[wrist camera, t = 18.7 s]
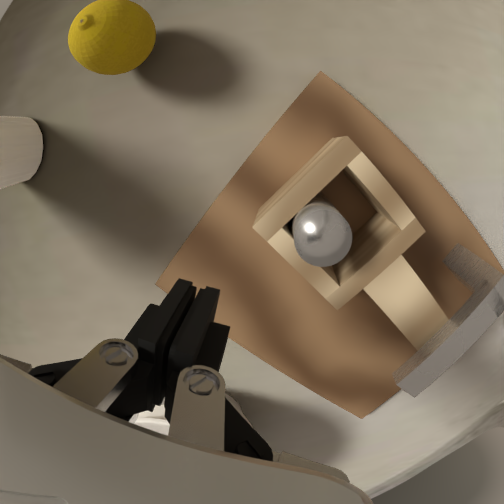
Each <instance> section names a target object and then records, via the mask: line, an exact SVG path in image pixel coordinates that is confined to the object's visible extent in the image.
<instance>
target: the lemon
mask: <svg viewBox="0 0 504 504" xmlns="http://www.w3.org/2000/svg"><path fill="white" fill-rule="evenodd" d="M155 39H156V30H155V25H154V22H153V20H152V19H151V17H150V15H149V14H148V12H147V11H145V10H144V9H143V8H142V7H141V6H140V5H138V4H136V3H134V2H131V1H129V0H97V1H95V2H93V3H91V4H89V5H88V6H87V7H85V8H84V9H83V10H82V11H81V12H80V13H79V14H78V15H77V16H76V18H75V19H74V21H73V23H72V25H71V27H70V30H69V34H68V44H69V48H70V51H71V53H72V55H73V56H74V58H75V59H76V60H77V61H78V62H79V63H80V64H81V65H83V66H84V67H85V68H87V69H88V70H91V71H93V72H96V73H99V74H105V75H117V74H121V73H126V72H128V71H130V70H132V69H135V68H136V67H137V66H139V65H140V64H142V63H143V62H144V61H145V59H146V58H147V57H148V56H149V54H150V53H151V51H152V49H153V46H154V44H155Z"/></svg>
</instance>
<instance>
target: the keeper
mask: <svg viewBox="0 0 504 504" xmlns="http://www.w3.org/2000/svg"><path fill="white" fill-rule="evenodd" d="M442 262H443V263H444V264H445V265H446V266H447V267H448V269H449V270H450V271H451V272H452V273H453V275H454V276H455V277H456V278H457V279H458V280H459V281H460V282H461V283H462V284H463V285H465V286H466V287H467V288H468V289H469V290H470V291H471V292H472V293H473V294H472V295H471V296H470V298H469V299H468V300H467V301H466V302H465V303H464V304H463V305H462V307H461V308H460V309H459V310H458V311H457V312H456V313H455V314H454V315H453V316H452V317H451V318H450V319H449V320H448V321H447V323H446V324H445V325H444V326H443V327H442V328H441V329H440V330H439V331H438V332H437V333H436V334H435V335H434V336H433V337H432V338H431V339H430V340H429V341H427V342H426V343H425V344H424V345H423V346H422V347H421V348H420V349H419V350H418V351H417V352H416V353H415V354H414V355H413V356H411V357H410V358H409V359H408V360H407V361H406V362H405V363H404V364H402V365H401V366H400V367H399V368H398V369H397V370H396V371H394V372H393V373H392V375H393V378H394V380H395V383H396V385H397V386H399V387H400V388H401V389H403V390H404V391H406V392H407V393H409V394H410V395H412V396H413V397H414V398H415V397H416V396H417V395H418V394H420V393H421V392H422V391H423V390H424V389H426V388H427V387H428V386H429V385H430V384H431V383H433V382H434V381H435V380H436V379H437V378H438V377H439V376H441V375H442V374H443V373H444V372H445V371H446V370H447V369H448V368H449V367H450V366H452V365H453V364H454V363H455V362H456V361H457V360H458V359H459V358H460V357H461V356H462V355H463V354H464V353H465V352H466V351H467V350H468V349H469V348H470V347H471V346H472V345H473V344H474V343H475V342H476V341H477V340H478V339H479V338H480V337H481V336H482V335H483V333H484V332H485V331H486V330H487V329H488V328H489V327H490V326H491V325H492V324H493V322H494V321H495V320H496V319H497V318H498V317H499V316H500V314H501V313H502V312H503V311H504V274H502V273H501V272H499V271H498V270H497V269H495V268H494V267H493V266H491V265H490V264H488V263H487V262H485V261H484V260H483V259H481V258H480V257H478V256H477V255H475V254H474V253H472V252H471V251H469V250H468V249H467V248H465V247H464V246H462V245H460V244H459V243H457V244H456V245H455V247H454V248H453V249H452V250H451V251H450V253H449V254H448V255H447V256H446V257H445V259H444V260H443V261H442Z"/></svg>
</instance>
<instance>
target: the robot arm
mask: <svg viewBox="0 0 504 504" xmlns="http://www.w3.org/2000/svg"><path fill="white" fill-rule="evenodd" d="M196 290H197V287H195V286H193V282H191V281H187V280H184V279H180V278H179V279H178V280H177V281H176V283H175V284H174V286H173V287H172V289H171V290H170V292H169V293H168V294H167V296H166V297H165V299H164V300H163V302H162V303H161V305H160V306H158V305H155V304H150V305H149V306H148V307H147V308H146V310H145V311H144V312H143V314H142V315H141V317H140V318H139V319H138V321H137V322H136V324H135V325H134V326H133V328H132V329H131V331H130V332H129V333H128V335H127V336H126V338H125V339H124V340H123V339H116V338H114V339H107V340H104V341H102V342H101V343H99V344H98V345H97V346H96V347H95V348H93V349H92V350H91V351H90V352H89V353H88V354H87V355H86V356H85V357H84V358H82V359H76V360H70V361H65V362H59V363H53V364H47V365H41V366H38V367H35V368H32V365H31V364H28V363H25V362H22V361H18V360H15V359H12V358H10V357H7V356H4V355H1V354H0V504H373V502H372V501H371V499H370V498H369V496H368V495H367V494H366V493H365V492H363V491H362V490H361V489H359V488H358V487H356V486H354V485H352V484H350V481H349V479H348V477H347V475H346V474H345V473H343V472H342V471H341V470H339V469H337V468H334V467H330V466H327V465H323V464H320V463H317V462H313V461H310V460H307V459H304V458H301V457H298V456H295V455H292V454H289V453H286V452H283V451H282V453H281V454H280V453H277V452H275V451H272V449H271V448H270V447H269V445H268V444H267V443H266V442H265V441H264V439H263V438H262V437H261V436H260V435H259V434H258V433H257V432H256V431H255V430H254V429H253V428H252V427H251V426H250V424H249V423H248V422H247V421H246V420H245V419H244V418H243V417H242V416H241V414H240V413H239V412H238V411H237V410H236V409H235V408H234V407H233V405H232V404H231V403H230V402H229V401H228V400H227V398H226V397H225V381H224V379H223V377H222V375H221V374H220V373H218V372H219V369H220V365H221V362H222V358H223V354H224V350H225V347H226V343H227V339H228V335H229V331H230V327H231V326H227V325H223V324H220V323H216V322H214V318H215V314H216V309H217V304H218V300H219V295H220V289H216V288H213V287H209V286H206V288H205V289H202V288H200V290H199V292H198V294H197V295H196ZM195 296H196V297H195ZM164 397H165V401H164V408H165V416H164V417H165V418H166V420H167V421H168V423H169V424H170V427H169V433H168V436H167V435H164V434H161V433H158V432H155V431H152V430H150V429H147V428H144V427H141V426H138V425H136V424H134V423H135V422H136V420H137V418H138V416H139V413H140V412H144V411H150V412H153V410H154V407H155V405H158V406H161V404H162V402H163V399H164Z"/></svg>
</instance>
